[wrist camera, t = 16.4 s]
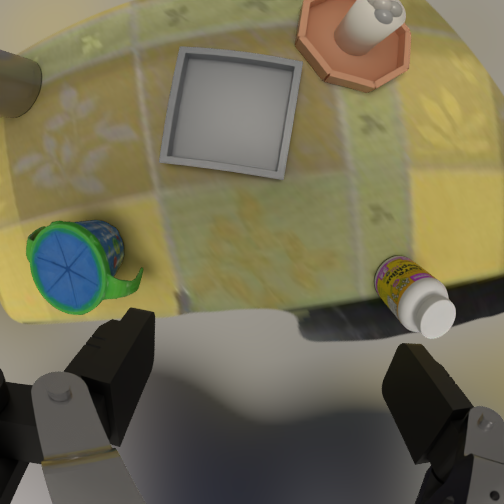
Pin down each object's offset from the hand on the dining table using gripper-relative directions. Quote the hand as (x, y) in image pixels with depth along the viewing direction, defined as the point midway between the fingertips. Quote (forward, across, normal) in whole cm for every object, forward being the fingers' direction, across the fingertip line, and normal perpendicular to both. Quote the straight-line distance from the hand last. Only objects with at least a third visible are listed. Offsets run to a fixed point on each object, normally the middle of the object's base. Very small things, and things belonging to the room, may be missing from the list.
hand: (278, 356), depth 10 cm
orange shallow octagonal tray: (+30, -8, -24) cm, 39 cm away
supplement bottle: (+30, -20, +6) cm, 37 cm away
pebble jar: (+29, -8, -24) cm, 39 cm away
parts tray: (+30, +5, -11) cm, 32 cm away
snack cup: (+30, +20, +8) cm, 37 cm away
